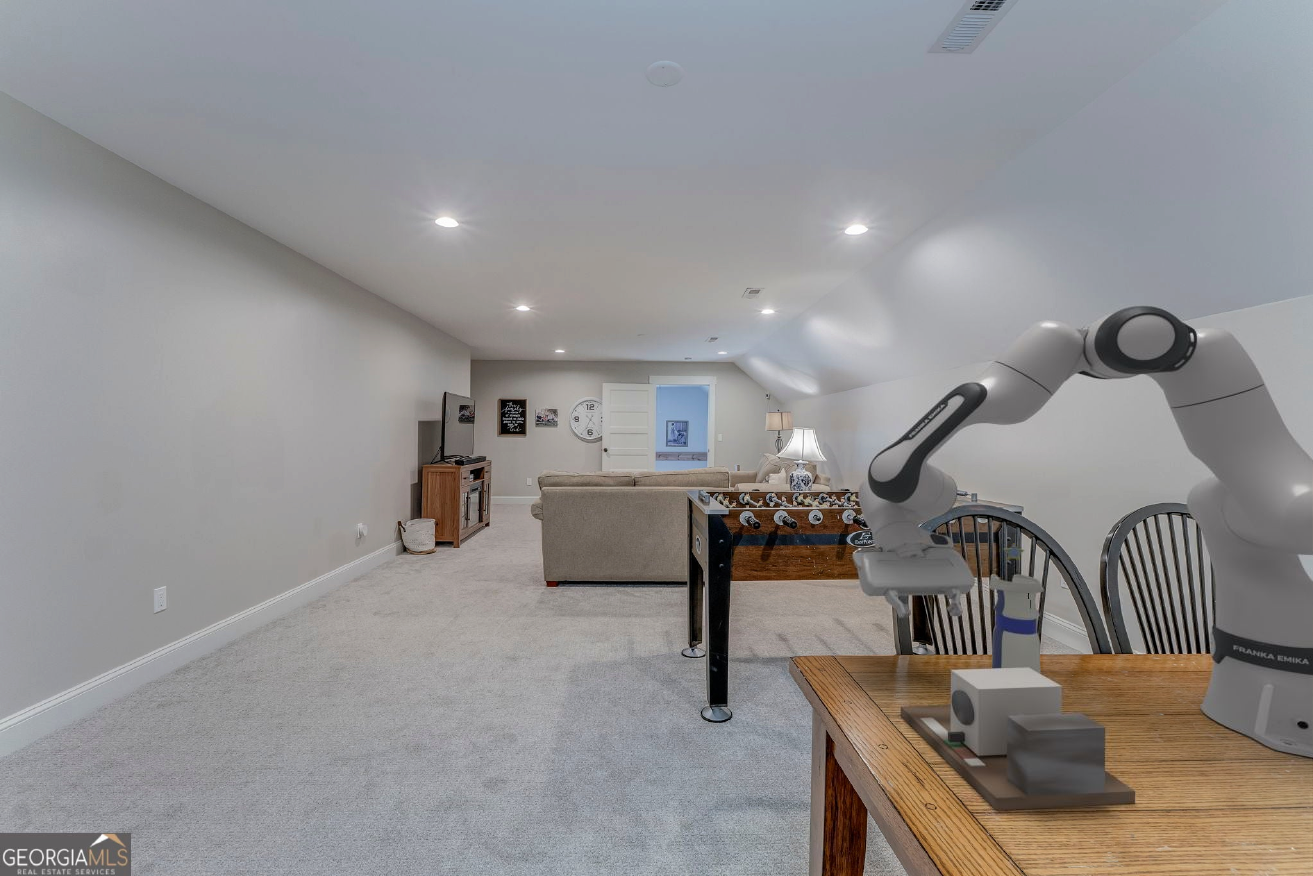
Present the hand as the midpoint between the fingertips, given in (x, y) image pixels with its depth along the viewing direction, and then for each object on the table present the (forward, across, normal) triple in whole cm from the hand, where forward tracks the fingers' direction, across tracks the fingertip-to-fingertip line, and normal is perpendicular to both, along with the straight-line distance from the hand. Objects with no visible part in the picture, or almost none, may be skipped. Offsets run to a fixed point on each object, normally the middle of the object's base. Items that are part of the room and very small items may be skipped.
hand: (931, 615), depth 94 cm
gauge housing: (+22, -1, -5) cm, 22 cm away
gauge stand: (+22, 0, -2) cm, 22 cm away
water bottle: (+8, +18, +12) cm, 23 cm away
